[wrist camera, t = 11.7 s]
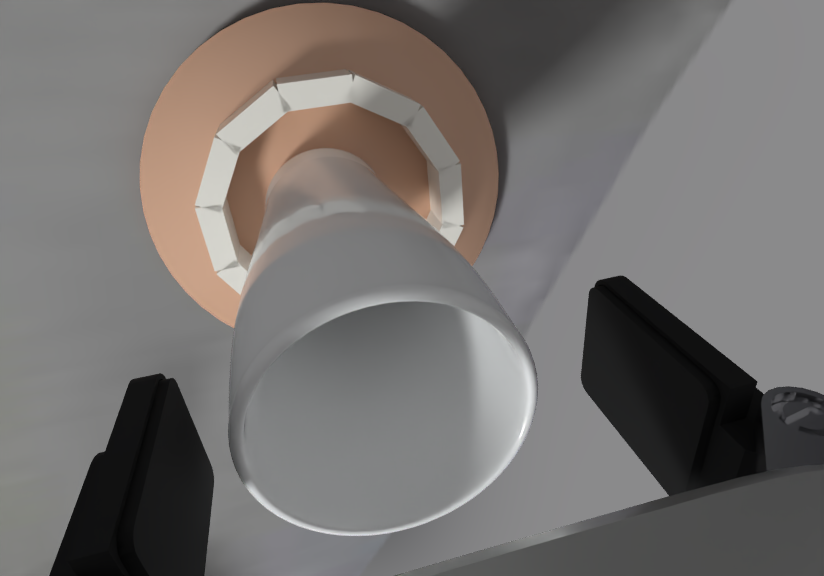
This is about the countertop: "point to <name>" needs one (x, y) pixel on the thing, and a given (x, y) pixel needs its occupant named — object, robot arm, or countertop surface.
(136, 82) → the countertop surface
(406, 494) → the drinking glass
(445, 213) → the tan saucer
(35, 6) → the countertop surface
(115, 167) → the countertop surface
